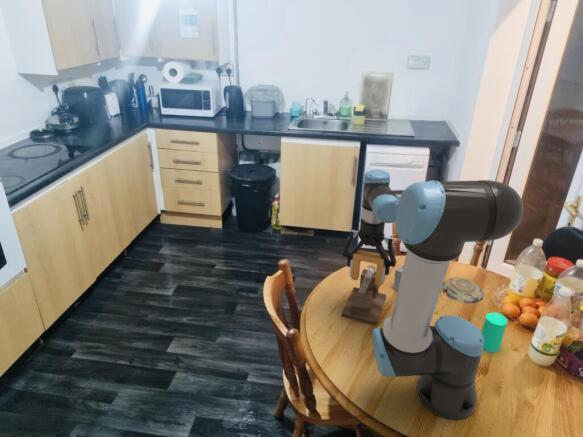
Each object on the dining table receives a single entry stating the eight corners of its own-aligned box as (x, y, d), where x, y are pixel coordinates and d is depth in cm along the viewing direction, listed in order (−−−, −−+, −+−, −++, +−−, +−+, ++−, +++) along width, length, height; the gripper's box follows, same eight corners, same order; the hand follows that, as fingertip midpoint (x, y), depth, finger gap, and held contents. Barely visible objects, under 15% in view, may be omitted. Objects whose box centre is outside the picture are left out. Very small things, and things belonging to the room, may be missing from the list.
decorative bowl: (492, 295, 155) (458, 275, 166) (494, 287, 153) (459, 267, 164) (466, 310, 148) (431, 288, 159) (468, 301, 146) (433, 279, 157)
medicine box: (402, 294, 155) (405, 274, 151) (392, 288, 158) (395, 268, 154) (415, 286, 159) (418, 266, 155) (405, 281, 162) (408, 261, 158)
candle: (498, 340, 133) (507, 309, 128) (501, 354, 128) (510, 322, 123) (477, 337, 134) (485, 306, 129) (479, 350, 129) (488, 318, 124)
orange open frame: (380, 285, 140) (383, 260, 136) (351, 279, 144) (353, 253, 139) (382, 281, 143) (385, 255, 138) (353, 274, 146) (355, 249, 142)
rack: (376, 325, 139) (380, 294, 134) (341, 316, 143) (343, 286, 138) (386, 297, 153) (389, 269, 147) (353, 290, 157) (355, 261, 151)
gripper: (411, 220, 132) (403, 279, 142) (341, 208, 140) (337, 265, 150) (408, 230, 126) (399, 292, 136) (334, 217, 134) (331, 276, 144)
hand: (367, 278), depth 143 cm, fingers closed on orange open frame, 10 cm apart
